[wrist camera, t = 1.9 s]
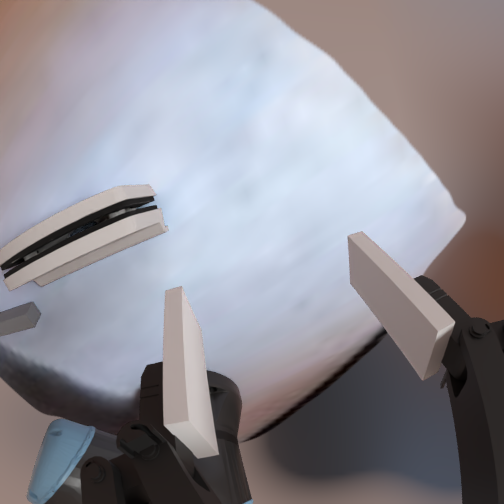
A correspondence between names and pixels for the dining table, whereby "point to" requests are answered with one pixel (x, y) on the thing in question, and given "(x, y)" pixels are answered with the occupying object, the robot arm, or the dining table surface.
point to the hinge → (82, 235)
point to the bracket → (19, 318)
